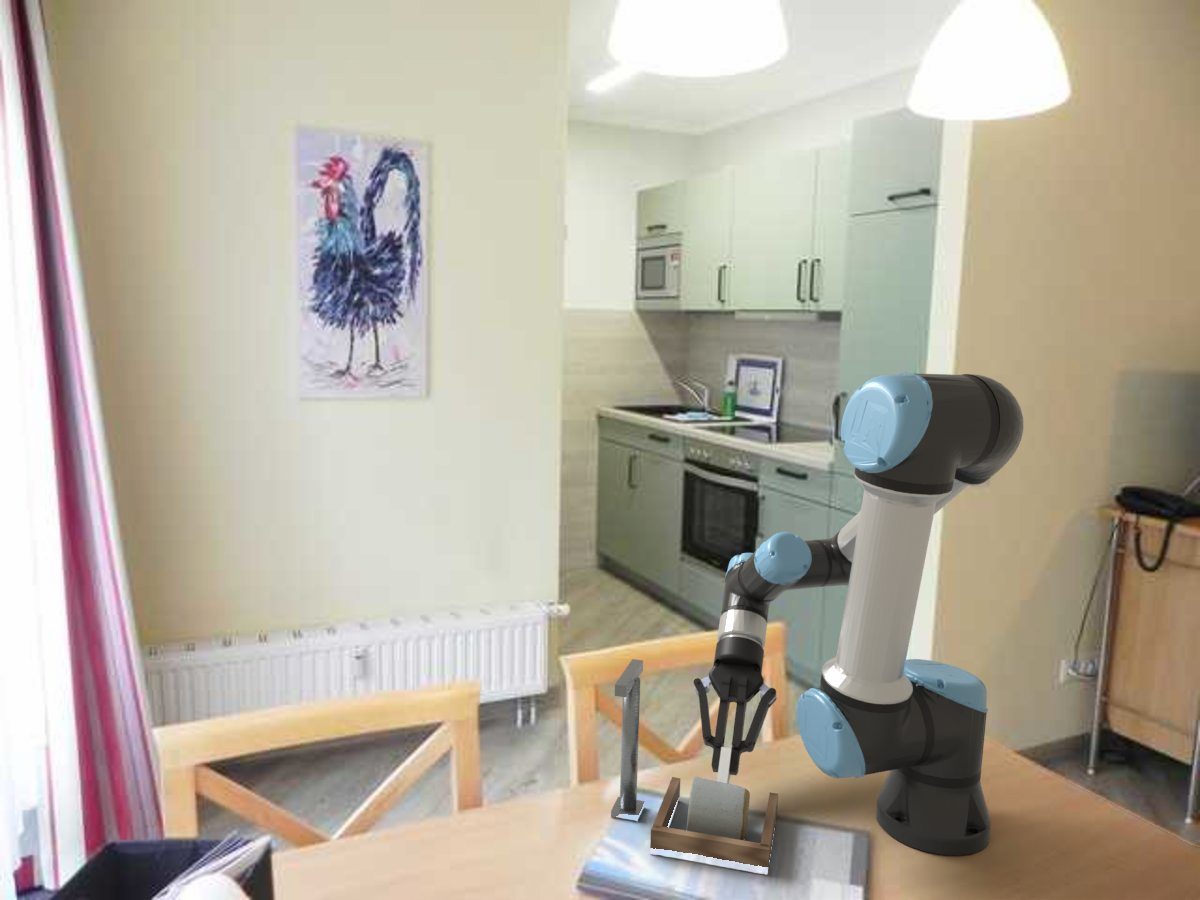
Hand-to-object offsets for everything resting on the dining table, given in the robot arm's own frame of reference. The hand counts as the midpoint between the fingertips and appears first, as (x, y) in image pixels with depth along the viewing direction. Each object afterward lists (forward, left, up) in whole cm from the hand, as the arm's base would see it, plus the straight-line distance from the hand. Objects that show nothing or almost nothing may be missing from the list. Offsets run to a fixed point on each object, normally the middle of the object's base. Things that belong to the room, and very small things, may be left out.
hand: (721, 795), depth 126 cm
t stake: (+13, +5, -3) cm, 14 cm away
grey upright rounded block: (0, +4, -3) cm, 5 cm away
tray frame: (0, +5, -3) cm, 6 cm away
